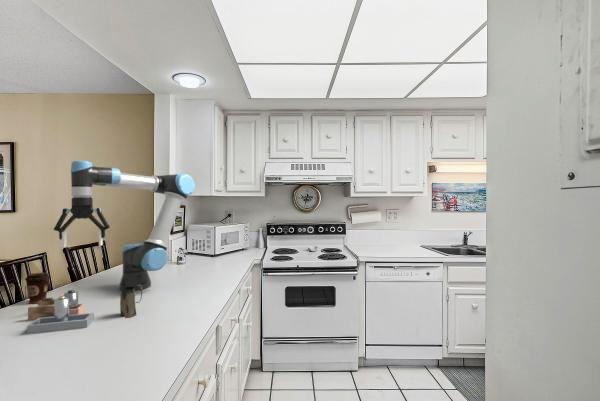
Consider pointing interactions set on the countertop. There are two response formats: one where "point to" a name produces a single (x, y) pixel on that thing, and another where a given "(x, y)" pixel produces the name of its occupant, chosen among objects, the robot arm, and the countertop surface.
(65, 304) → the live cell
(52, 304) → the checker cradle
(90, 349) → the countertop surface
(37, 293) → the coffee cup
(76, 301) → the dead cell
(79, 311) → the pink square tray
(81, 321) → the trough
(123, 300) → the mug
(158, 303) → the countertop surface
